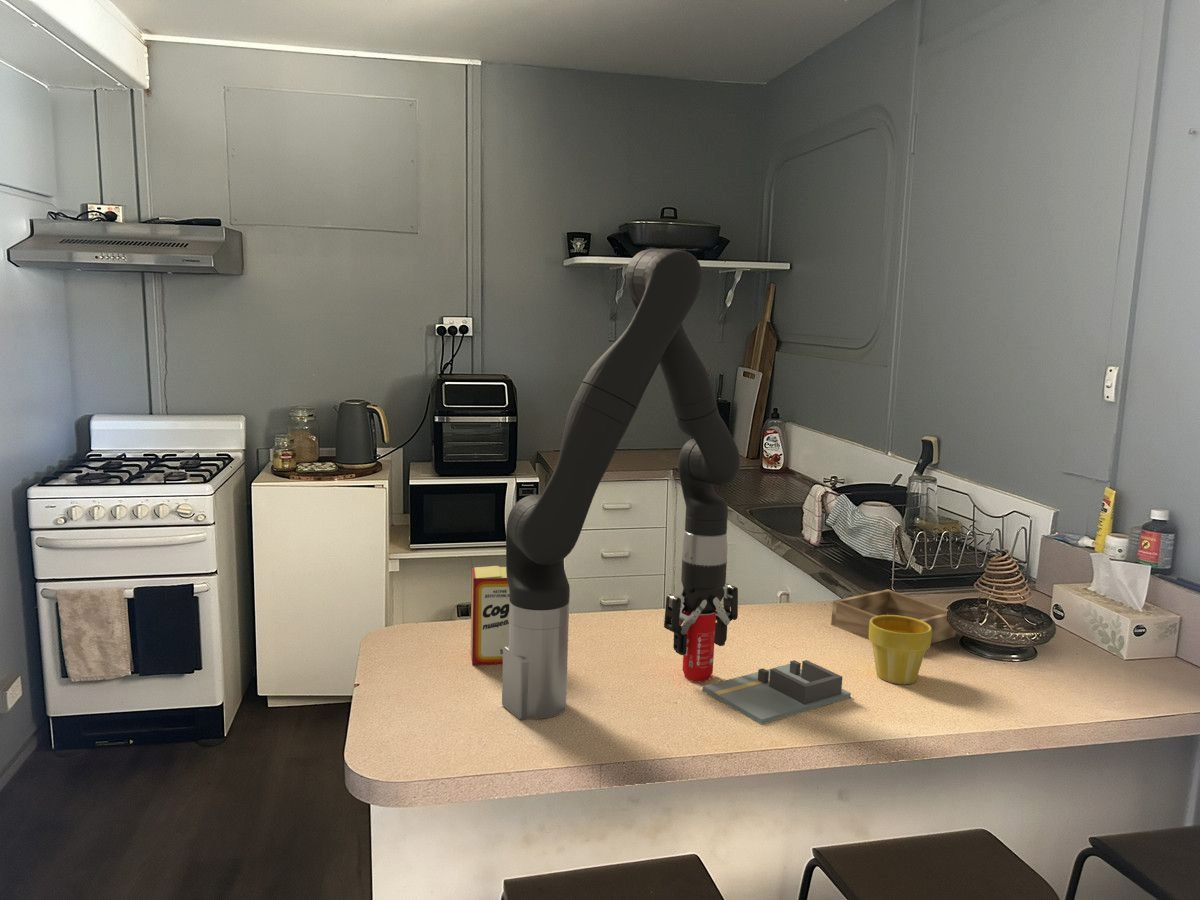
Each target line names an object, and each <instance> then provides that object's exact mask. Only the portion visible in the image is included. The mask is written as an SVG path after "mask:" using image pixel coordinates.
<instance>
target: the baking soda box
mask: <svg viewBox="0 0 1200 900" xmlns="http://www.w3.org/2000/svg"><path fill="white" fill-rule="evenodd" d="M470 604H471V606H470V607H471V609H470V612H471V613H470V656H471V657H470V658H471V665H472V666H486V665H487V666H489V665H492V666H493V665H503V648H504V647H507V646H508V642H509V585H508V581H507V574H506V566H499V565H490V566H477V567H476V566H475V567H472V568H471V603H470Z"/></svg>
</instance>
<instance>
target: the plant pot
mask: <svg viewBox="0 0 1200 900" xmlns="http://www.w3.org/2000/svg"><path fill="white" fill-rule="evenodd" d="M931 638H932V628H931V626H930V625H929V624H927V623H925V622H923V621H921V620H918V619H915V618H911V617H906V616H898V615H889V614H884V615H879V616H875V617H873V618H871V619H870V622H869V641H870V642H871V643H872V651H873V658H874V665H875V671H876V676H877V677H878V678H879V679H881V680H882V681H884V682H888V683H890V684H895V685H896V684H897V685H910V684H914V683H915V682H916V681H917V679H918V676H919V672H920V670H921V666H922V663H923V661H924V657H925V653H926V651H927V650H928V649H930V647H931V644H932V643H931Z"/></svg>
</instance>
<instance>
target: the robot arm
mask: <svg viewBox="0 0 1200 900" xmlns="http://www.w3.org/2000/svg"><path fill="white" fill-rule="evenodd" d="M702 272H703V271H702V267H701V263H700V262H699V260H698V259H697V257H696V256H695V255H693V254H692V253H691V252H688V251H686V250H680V249H674V248H673V249H670V248H649V249H648V248H647V249H645V250H641V251H639V252H637V253H636V254H635V255H634V256H633V257H632V258H631V259H630V261H629V262H628V265H627V268H626V272H625V282H626V283H625V284H626V287H627V292H628V293H629V296H630V299H631V301H632V304H633V305H634V308H635V310H636V312H635V313H634V315H633V317H632V319H631V321H630V323H629V324H628V326H627V327H626V329H625V330H624V331H623V332H622V334H621V335H620V336H619V337H618V338H617V340H616V341H615V342H613V344H612V345H611V346H610V347H609V348H607V350H606V351H605V352H604V353H603V354H601V356H600V357H599V358H598V359H597V360H596V361H595V363H593V365H592V366H590V368H589V370H588V371H587V373H586V375H585V376H584V378H583V380H582V382H581V383H580V386H579V388H578V390H577V392H576V394H575V396H574V398H573V400H572V402H571V405H570V407H569V410H568V412H567V415H566V418H565V424H564V428H563V432H562V433H563V434H562V437H561V438H562V439H561V444H560V450H559V455H558V458H557V461H556V465H555V467H554V470H553V473H552V475H551V477H550V479H549V481H548V483H547V484H546V486H545V488H544V490H543V491H542V494H530V495H528V496H527V495H526V496H525V497H522V498H521V499H519V500H518V501H517V502H516V503H515V504H514V505H513V506H512V508H511V510H510V511H509V514H508V517H507V522H506V528H505V529H506V530H505V536H506V537H505V561H506V563H505V567H506V574H507V581H508V585H509V642H508V646H507V647H504V648H503V664H502V683H501V684H502V687H501V688H502V691H501V706H503V708H505V709H506V710H507V711H509V712H510V713H511V714H512V715H514V716H515V717H516V718H518V719H519V720H525V719H548V718H551V717H552V718H553V717H556V716H558V715H560V714H562V713H563V712H565V710H566V708H567V694H568V693H567V683H568V682H567V681H568V655H569V654H568V653H569V652H568V651H569V650H568V649H569V627H570V626H569V625H570V623H569V622H570V595H571V593H570V591H571V589H570V582H569V580H568V578H567V577H568V576H567V575H566V570H565V565H564V559H566V557H567V556H568V555H570V553H571V552H572V550H574V548H575V546H576V544H577V542H578V540H579V537H580V535H581V532H582V529H583V527H584V524H585V521H586V518H587V515H588V514H589V513H588V512H589V510H590V508H591V506H592V502H593V500H594V497H595V494H596V492H597V490H598V487H599V485H600V483H601V480H602V479H603V478H604V475H605V473H606V471H607V469H608V468H609V466H610V463H611V462H612V459H613V457H614V455H615V453H616V451H617V449H618V446H619V444H620V443H621V441H622V439H623V438H624V436H625V434H626V432H627V430H628V428H629V426H630V424H631V422H632V420H633V418H634V416H635V414H636V411H637V410H638V407H639V406H640V403H641V400H642V398H643V396H644V394H645V391H646V389H647V388H648V386H649V384H650V381H651V380H652V379H653V376H654V374H655V372H656V370H657V369H658V366H660V369H661V371H662V375H663V378H664V382H665V385H666V388H667V392H668V394H669V400H670V402H671V407H672V410H673V414H674V417H675V421H676V425H677V426H678V428H679V430H680V431H681V432H682V433H683V434H685V435H687V436H689V437H691V439H689V440H687V441H686V442H685V444H684V445H683V446H682V448H681V449H680V453H679V456H678V463H677V466H678V475H679V481H680V486H681V491H682V494H683V499H684V504H685V516H684V517H685V521H684V536H683V539H682V552H681V555H682V557H681V559H682V560H681V577H680V578H681V579H680V581H681V585H682V592H681V593H680V595H673V594H671V593H669V594H667V595H666V599H665V609H664V610H665V611H664V622H663V628H664V629H666V630H668V631H670V632H672V633H673V646H672V647H673V650H674V651H675V653H677V654H678V655H680V656H683V655H685V654H686V648H687V634H686V632H687V631H688V629H689V627H690V626H691V624H694V623H695V621H696V619H697V618H698V616H699V614H700V613H710V612H712V611H713V612H714V610H715V614H716V624H715V641H714V645H717V646H719V647H723V646H726V645H725V644H726V641H727V639H728V626H729V624H730V622H731V621H732V620H733V621H736V620H737V619H738V617H739V616H738V615H739V589H738V587H737V586H734V585H732V584H729V583H727V565H728V564H727V563H728V547H729V546H728V545H729V544H728V533H727V532H728V515H729V507H728V505H729V504H728V503H727V501H726V500H725V499H724V498H723V497H721V496H720V495H718V493H716V492H715V488H714V486H715V485H716V486H726V485H729V484H731V483H732V482H734V480H736V478H737V477H738V474H739V472H740V468H741V467H740V466H741V457H740V452H739V448H738V446H737V444H736V441H735V439H734V438H733V436H732V434H731V432H730V430H729V429H728V426H727V425H726V422H725V421H724V420H723V418H722V417H721V415H720V413H719V408H718V402H717V400H716V397H715V392H714V388H713V385H712V381H711V378H710V376H709V374H708V371H707V369H706V366H705V364H704V363H703V361H702V360H701V358H700V356H699V354H698V353H697V351H696V349H695V348H694V346H693V344H692V343H691V341H690V339H689V337H688V334H687V333H686V330H685V328H684V326H683V322H684V320H685V318H686V317H687V316H688V314H689V312H690V311H691V309H692V307H693V306H694V304H695V302H696V301H697V299H698V296H699V294H700V291H701V287H702V283H703V273H702ZM713 485H714V486H713ZM722 600H723V604H722V603H721V602H722ZM687 611H688V613H690V614H691V615H690V616H687V615H686V613H687Z"/></svg>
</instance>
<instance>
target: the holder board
mask: <svg viewBox="0 0 1200 900" xmlns="http://www.w3.org/2000/svg"><path fill="white" fill-rule="evenodd" d="M842 687H843V675H840V674H837V673H836V672H833V671H831V670H829V669H827V668H825V667H823V666H821V665H818V664H816V663H813V662H812V661H810V660H807V659H806V660H802V661H801V662H800V661H797V660H795V659H793V660H790V661H789V663H787V664H783V665H780V666H775V667H772V668H769V669H768V668H767V669H765V668H758V671H757V672H753V673H748V674H745V675H741V676H738V677H737V676H736V677H733V678H728V679H725V680H722V681H716V682H713V683H710V684H706V685H702V692H704V693H705V694H707V695H709V696H711V697H713V698H715V699H716V700H717V701H720V702H722V703H723V704H725V705H726V706H728V707H730V708H732V709H733V710H735V711H737V712H739V713H741V714H743V715H745V717H748V718H749V719H751V720H753V721H755V722H757V723H758V724H760V725H764V724H767V723H770V722H775V721H777V720H780V719H783V718H787V717H790V716H793V715H797V714H800V713H803V712H807V711H810V710H814V709H816V708H820V707H824V706H827V705H830V704H833V703H836V702H839V701H844V700H847V699H850V698H851V695H852V694H851V692H849V691H848V690H846V689H843V688H842Z"/></svg>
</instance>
